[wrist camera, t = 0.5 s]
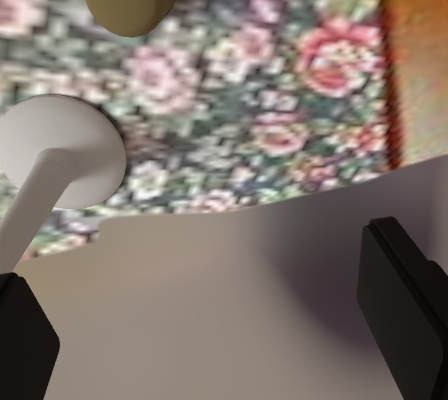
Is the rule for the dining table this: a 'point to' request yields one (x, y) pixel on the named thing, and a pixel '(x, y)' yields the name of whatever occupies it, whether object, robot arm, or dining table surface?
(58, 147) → the candlestick
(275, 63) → the dining table surface
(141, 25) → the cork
